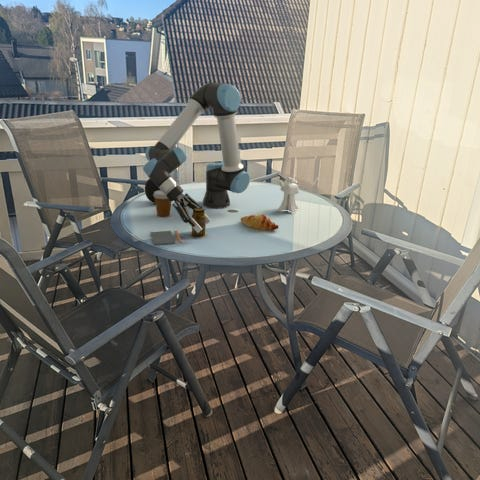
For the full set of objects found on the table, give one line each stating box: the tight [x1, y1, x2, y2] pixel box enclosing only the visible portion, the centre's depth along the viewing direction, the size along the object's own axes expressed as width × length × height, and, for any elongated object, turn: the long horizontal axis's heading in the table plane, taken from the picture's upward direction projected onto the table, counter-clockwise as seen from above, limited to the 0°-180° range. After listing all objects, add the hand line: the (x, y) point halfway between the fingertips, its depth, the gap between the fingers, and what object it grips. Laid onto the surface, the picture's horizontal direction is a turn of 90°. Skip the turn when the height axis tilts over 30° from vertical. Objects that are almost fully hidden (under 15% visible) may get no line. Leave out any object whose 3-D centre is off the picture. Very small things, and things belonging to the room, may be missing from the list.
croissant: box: [240, 213, 279, 231], centre depth 199 cm, size 21×10×8 cm, turn 58°
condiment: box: [188, 207, 210, 239], centre depth 185 cm, size 7×8×12 cm
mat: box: [150, 230, 176, 246], centre depth 181 cm, size 9×14×1 cm, turn 17°
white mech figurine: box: [277, 176, 300, 213], centre depth 221 cm, size 12×13×18 cm
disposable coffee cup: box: [153, 190, 172, 218], centre depth 208 cm, size 10×10×12 cm
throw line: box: [174, 230, 183, 244], centre depth 183 cm, size 1×14×1 cm, turn 18°
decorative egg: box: [144, 177, 160, 204], centre depth 225 cm, size 12×12×15 cm
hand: (204, 226), depth 185 cm, fingers open, 11 cm apart
